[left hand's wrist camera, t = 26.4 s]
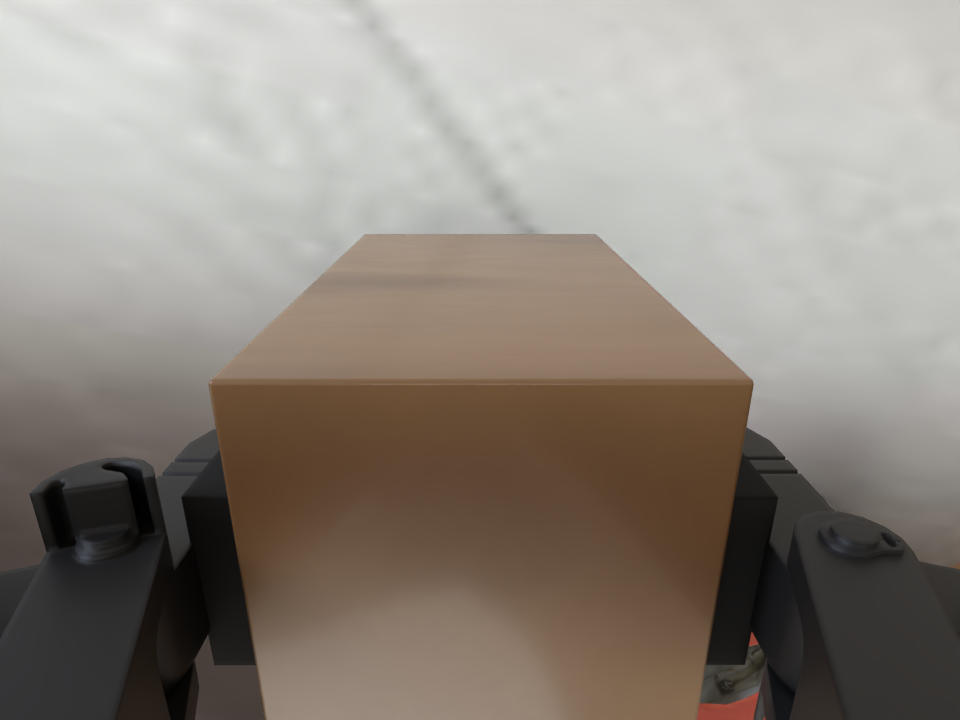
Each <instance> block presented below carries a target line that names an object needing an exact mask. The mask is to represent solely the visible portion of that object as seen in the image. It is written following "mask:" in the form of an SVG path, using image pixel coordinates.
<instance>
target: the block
mask: <svg viewBox="0 0 960 720" xmlns="http://www.w3.org/2000/svg"><path fill="white" fill-rule="evenodd" d="M209 389H210V395H211V401H212V407H213V413H214V419H215V425H216V431H217V437H218V443H219V449H220V454H221V460H222V466H223V472H224V478H225V484H226V490H227V496H228V502H229V508H230V514H231V520H232V526H233V532H234V538H235V544H236V550H237V556H238V561H239V567H240V573H241V579H242V585H243V591H244V597H245V603H246V609H247V615H248V621H249V627H250V633H251V639H252V645H253V651H254V657H255V662H256V668H257V674H258V680H259V686H260V692H261V698H262V704H263V710H264V716H265V720H697V715H698V709H699V703H700V697H701V691H702V686H703V680H704V674H705V668H706V662H707V656H708V650H709V644H710V638H711V632H712V627H713V621H714V615H715V609H716V603H717V597H718V591H719V585H720V579H721V573H722V568H723V562H724V556H725V550H726V544H727V538H728V532H729V526H730V520H731V514H732V509H733V503H734V497H735V491H736V485H737V479H738V473H739V467H740V461H741V456H742V450H743V444H744V438H745V432H746V426H747V420H748V414H749V408H750V402H751V397H752V391H753V380H752V379H751V378H750V377H749V376H748V375H746V374H745V373H744V372H743V371H742V370H741V369H740V368H739V367H738V366H737V365H736V364H735V363H734V362H732V361H731V360H730V359H729V358H728V357H727V356H726V355H725V354H724V353H723V352H722V351H721V350H720V349H719V348H717V347H716V346H715V345H714V344H713V343H712V342H711V341H710V340H709V339H708V338H707V337H706V336H705V335H704V334H702V333H701V332H700V331H699V330H698V329H697V328H696V327H695V326H694V325H693V324H692V323H691V322H690V321H688V320H687V319H686V318H685V317H684V316H683V315H682V314H681V313H680V312H679V311H678V310H677V309H676V308H675V307H673V306H672V305H671V304H670V303H669V302H668V301H667V300H666V299H665V298H664V297H663V296H662V295H661V294H659V293H658V292H657V291H656V290H655V289H654V288H653V287H652V286H651V285H650V284H649V283H648V282H647V281H646V280H644V279H643V278H642V277H641V276H640V275H639V274H638V273H637V272H636V271H635V270H634V269H633V268H632V267H630V266H629V265H628V264H627V263H626V262H625V261H624V260H623V259H622V258H621V257H620V256H619V255H618V254H617V253H615V252H614V251H613V250H612V249H611V248H610V247H609V246H608V245H607V244H606V243H605V242H604V241H603V240H601V239H600V238H599V237H598V236H597V235H595V234H366V235H364V236H363V237H362V238H361V239H360V240H359V241H358V242H356V243H355V244H354V245H353V246H352V247H351V248H350V249H349V250H348V251H347V252H346V253H345V254H344V255H343V256H342V257H340V258H339V259H338V260H337V261H336V262H335V263H334V264H333V265H332V266H331V267H330V268H329V269H328V270H327V271H326V272H324V273H323V274H322V275H321V276H320V277H319V278H318V279H317V280H316V281H315V282H314V283H313V284H312V285H311V286H310V287H309V288H307V289H306V290H305V291H304V292H303V293H302V294H301V295H300V296H299V297H298V298H297V299H296V300H295V301H294V302H293V303H291V304H290V305H289V306H288V307H287V308H286V309H285V310H284V311H283V312H282V313H281V314H280V315H279V316H278V317H277V318H275V319H274V320H273V321H272V322H271V323H270V324H269V325H268V326H267V327H266V328H265V329H264V330H263V331H262V332H261V333H259V334H258V335H257V336H256V337H255V338H254V339H253V340H252V341H251V342H250V343H249V344H248V345H247V346H246V347H245V348H243V349H242V350H241V351H240V352H239V353H238V354H237V355H236V356H235V357H234V358H233V359H232V360H231V361H230V362H229V363H227V364H226V365H225V366H224V367H223V368H222V369H221V370H220V371H219V372H218V373H217V374H216V375H215V376H214V377H213V378H211V379H210V381H209Z"/></svg>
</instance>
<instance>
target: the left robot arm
mask: <svg viewBox="0 0 960 720" xmlns="http://www.w3.org/2000/svg"><path fill="white" fill-rule="evenodd" d="M30 497H31V501H32V504H33V507H34V511H35V514H36V517H37V521H38V524H39V527H40V531H41V534H42V537H43V541H44V544H45V548H46V551H47V553H46V555H45V557H44V559H43V560H42V562H41V564H39V565H35V566H31V567H26V568H20V569H15V570H10V571H5V572H0V720H195V714H196V707H197V699H198V692H199V683H198V676H197V671H196V666H195V661H194V659H195V657H196V656H197V654H198V652H199V650H200V648H201V646H202V644H203V643H204V641H205V639H206V637H207V635H209V640H210V645H211V650H212V655H213V660H214V665H256V662H255V657H254V651H253V645H252V639H251V633H250V627H249V621H248V615H247V609H246V603H245V597H244V591H243V585H242V579H241V573H240V567H239V561H238V556H237V550H236V544H235V538H234V532H233V526H232V520H231V514H230V508H229V502H228V496H227V490H226V484H225V478H224V472H223V466H222V460H221V454H220V449H219V443H218V437H217V431H216V429H214V430H212V431H210V432H208V433H207V434H205V435H203V436H201V437H200V438H198V439H196V440H194V441H193V442H191V443H189V444H188V446H187V447H186V448H185V449H184V450H183V451H182V452H181V453H180V454H179V455H178V456H177V458H176V459H175V462H172V463H171V464H170V465H169V466H168V467H167V468H166V470H165V471H164V472H163V475H162V476H159V477H158V478H157V479H156V478H155V474H154V469H153V466H151V465H150V464H148V463H147V462H145V461H144V460H139V459H134V458H128V457H126V458H107V459H102V460H97V461H92V462H87V463H83V464H80V465H77V466H75V467H72V468H69V469H66V470H63V471H61V472H59V473H57V474H55V475H54V476H52V477H50V478H48V479H46V480H45V481H43V482H41V483H40V484H39V485H38V486H37V487H36V488H35V489H34V490H33V491H32V492H31V493H30ZM751 633H753V635H754V636H755V638H756V640H757V642H758V644H759V646H760V648H761V649H762V651H763V653H764V655H765V657H766V661H765V666H764V671H763V675H762V680H761V685H760V690H759V694H758V699H757V704H756V708H755V713H754V719H753V720H764V717H765V720H960V570H959V569H955V568H949V567H944V566H939V565H934V564H929V563H924V562H920V561H918V559H917V557H916V556H915V554H914V552H913V551H912V549H911V548H910V547H909V546H908V545H907V544H906V542H905V541H904V540H903V539H902V538H901V537H899V536H898V535H896V534H895V533H893V532H892V531H890V530H889V529H887V528H886V527H884V526H882V525H879V524H877V523H875V522H872V521H870V520H868V519H865V518H863V517H859V516H855V515H851V514H847V513H843V512H835V511H834V509H833V508H832V507H831V506H830V505H829V504H828V503H827V502H826V501H825V500H824V499H823V498H822V496H821V495H820V494H819V493H818V492H817V491H816V490H815V489H814V488H813V487H812V486H811V485H810V483H809V482H808V481H807V480H806V479H805V478H804V477H803V476H802V475H801V474H798V473H797V469H796V468H795V467H794V466H793V465H792V464H791V463H790V462H789V461H788V460H785V456H784V455H783V454H782V453H781V452H780V451H779V450H778V449H777V448H776V447H775V446H774V445H773V443H772V442H771V441H769V440H768V439H766V438H764V437H762V436H761V435H759V434H757V433H755V432H754V431H752V430H750V429H748V428H746V432H745V438H744V444H743V450H742V456H741V461H740V467H739V473H738V479H737V485H736V491H735V497H734V503H733V509H732V514H731V520H730V526H729V532H728V538H727V544H726V550H725V556H724V562H723V568H722V573H721V579H720V585H719V591H718V597H717V603H716V609H715V615H714V621H713V627H712V632H711V638H710V644H709V650H708V656H707V662H706V665H745V663H746V658H747V653H748V648H749V643H750V638H751Z"/></svg>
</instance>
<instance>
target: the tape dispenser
mask: <svg viewBox="0 0 960 720" xmlns="http://www.w3.org/2000/svg"><path fill="white" fill-rule="evenodd" d="M828 504H829V503H828ZM829 505H830V504H829ZM830 506H831V505H830ZM831 507H832V506H831ZM765 661H766V657H765V655H764V653H763V651H762V649H761V648H760V646H759V644H758V642H757V640H756V638H755V636H754V635H753V633H751V638H750V643H749V648H748V653H747V658H746V663H745V665H706V668H705V674H704V680H703V686H702V691H701V697H700V703H699V709H698V715H697V720H753V719H754V713H755V708H756V704H757V699H758V694H759V690H760V685H761V680H762V675H763V671H764V666H765ZM764 720H765V717H764Z"/></svg>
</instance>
